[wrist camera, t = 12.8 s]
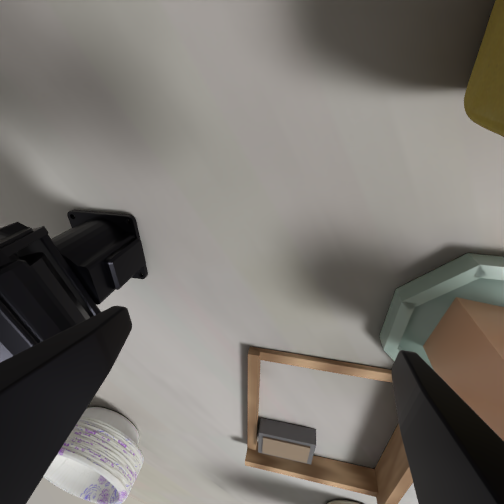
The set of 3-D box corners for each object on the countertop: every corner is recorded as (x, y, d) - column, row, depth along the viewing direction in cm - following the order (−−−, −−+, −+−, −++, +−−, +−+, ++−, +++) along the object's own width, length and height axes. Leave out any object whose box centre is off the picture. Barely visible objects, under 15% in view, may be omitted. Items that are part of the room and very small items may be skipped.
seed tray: (260, 437, 37) (257, 454, 35) (261, 417, 34) (258, 434, 32) (310, 449, 35) (311, 466, 34) (315, 429, 33) (316, 446, 31)
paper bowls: (79, 381, 39) (30, 439, 32) (167, 428, 41) (139, 493, 34) (62, 418, 47) (20, 471, 40) (137, 456, 48) (109, 514, 42)
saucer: (369, 363, 26) (373, 377, 24) (410, 247, 19) (417, 258, 18) (520, 388, 24) (533, 405, 22) (622, 267, 17) (649, 281, 16)
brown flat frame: (248, 444, 38) (242, 478, 35) (249, 346, 28) (241, 379, 25) (381, 475, 35) (389, 515, 32) (437, 377, 25) (457, 420, 22)
